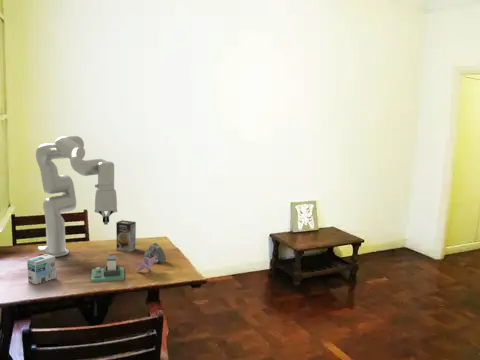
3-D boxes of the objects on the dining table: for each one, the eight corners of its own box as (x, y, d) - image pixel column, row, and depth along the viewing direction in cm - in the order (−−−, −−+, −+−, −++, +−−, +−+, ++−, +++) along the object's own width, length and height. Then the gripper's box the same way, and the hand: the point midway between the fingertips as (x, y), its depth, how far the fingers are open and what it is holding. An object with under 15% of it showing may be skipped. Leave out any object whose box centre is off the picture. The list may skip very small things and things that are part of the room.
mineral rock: (143, 256, 257) (143, 239, 255) (163, 255, 260) (163, 238, 258) (145, 265, 244) (145, 246, 243) (166, 263, 247) (166, 245, 246)
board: (90, 282, 220) (90, 274, 219) (92, 271, 233) (92, 264, 232) (124, 279, 224) (123, 272, 223) (123, 269, 237) (123, 262, 236)
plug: (107, 275, 226) (107, 259, 224) (107, 271, 230) (107, 255, 229) (116, 274, 227) (115, 258, 225) (116, 270, 231) (115, 255, 230)
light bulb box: (36, 285, 215) (35, 262, 213) (27, 281, 218) (26, 259, 216) (56, 277, 224) (55, 256, 222) (47, 274, 227) (46, 253, 225)
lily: (162, 271, 238) (155, 253, 240) (163, 270, 227) (156, 252, 228) (139, 281, 235) (133, 262, 237) (139, 280, 224) (132, 261, 225)
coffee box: (116, 250, 266) (115, 222, 263) (122, 246, 272) (121, 219, 270) (130, 252, 264) (130, 224, 261) (136, 248, 270) (136, 221, 267)
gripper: (89, 188, 222) (89, 226, 226) (122, 188, 226) (121, 225, 229) (90, 185, 229) (90, 221, 233) (122, 185, 233) (121, 221, 237)
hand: (105, 223), depth 231 cm, fingers closed
